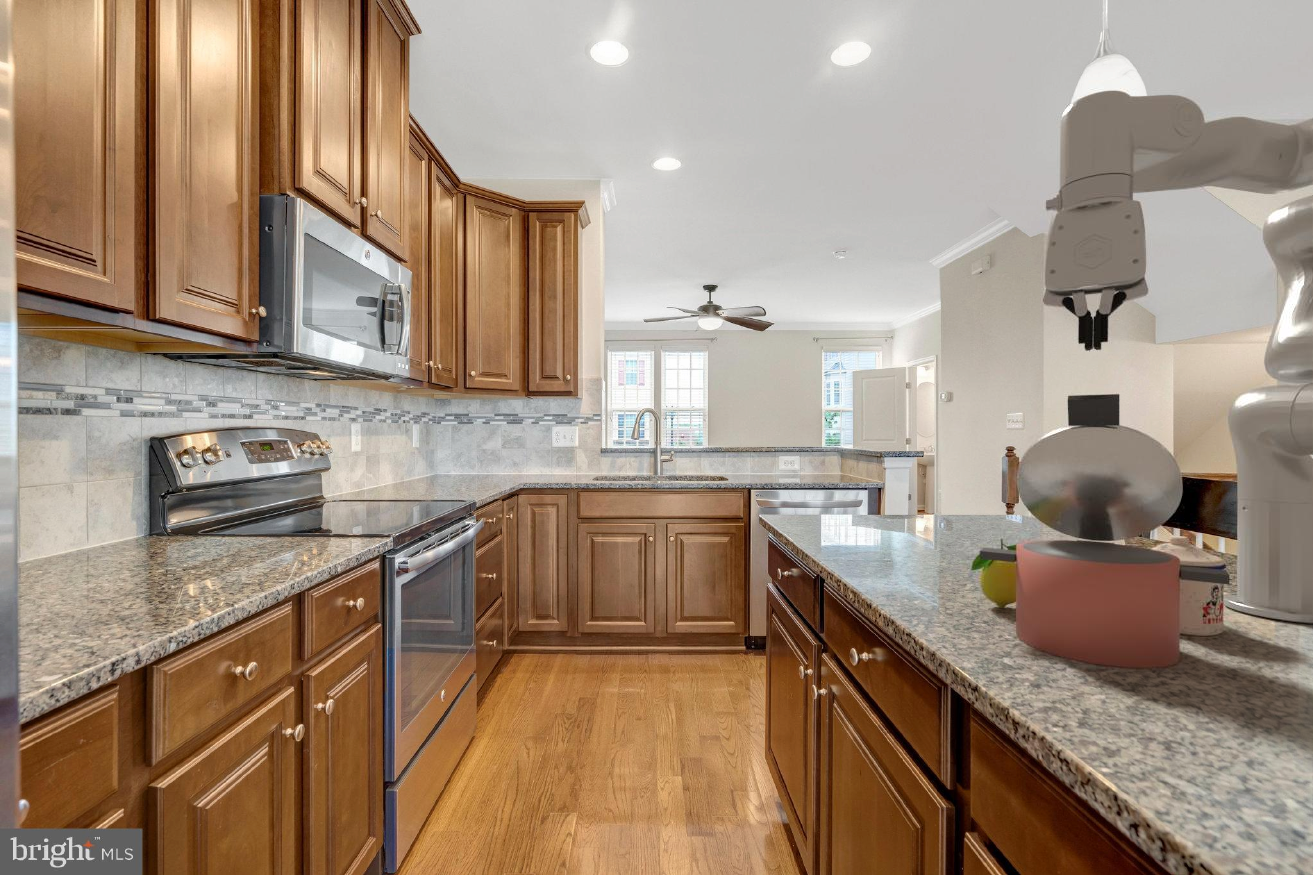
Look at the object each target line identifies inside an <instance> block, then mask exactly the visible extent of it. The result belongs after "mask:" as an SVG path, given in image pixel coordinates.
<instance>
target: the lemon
mask: <svg viewBox="0 0 1313 875" xmlns="http://www.w3.org/2000/svg"><path fill="white" fill-rule="evenodd" d="M1016 545H1017V544H1013V545H1005V544H1004V542H1003V538H1000V549H1004V547H1005V548H1006V550H1016ZM980 569H981V572H980V577H979V578H980V587H981V591H982V592H983V593H982V594H983V595H984V596H985V597H986V598H987V599H988V600H989V601H991V602H993V603H995V604H996V605H997V607H998V608H1000V609H1004V608H1005V607H1007V606H1008V605H1012V604H1014V603H1015V604H1016V562H1007V561H997V560H987V559H980V553H979V554H978V555H976V556H975V558H974V559H973V561H972V564H971V569H970V571H976V570H977V571H978V570H980Z"/></svg>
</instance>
